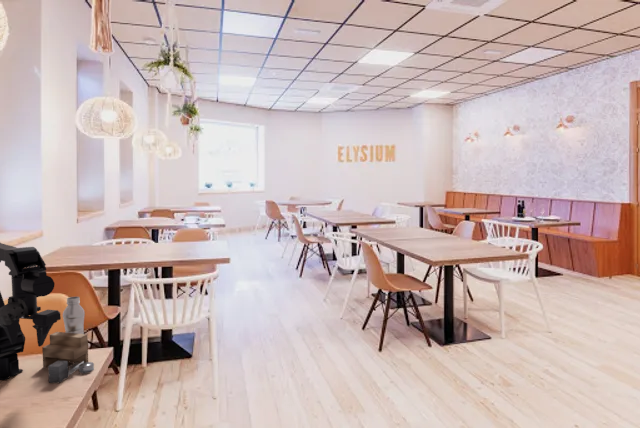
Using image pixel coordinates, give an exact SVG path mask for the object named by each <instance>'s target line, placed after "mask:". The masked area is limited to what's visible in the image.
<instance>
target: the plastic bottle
mask: <svg viewBox="0 0 640 428" xmlns="http://www.w3.org/2000/svg"><path fill="white" fill-rule="evenodd" d="M80 298H81V297H80V296H70V297H68V298H66V304H67V306H66V307H65V309H64V310H63V311H62V318H63V324H64V331H65V333H77V334H85V332H84V331H85V330H84V329H85V328H84V325H85V324H84V323H85V317H86V316H85V315H86V314H85V313H86V312H85V309H84V308H83V307H82V306H81V304H80V303H81V301H80V300H81V299H80Z"/></svg>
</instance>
